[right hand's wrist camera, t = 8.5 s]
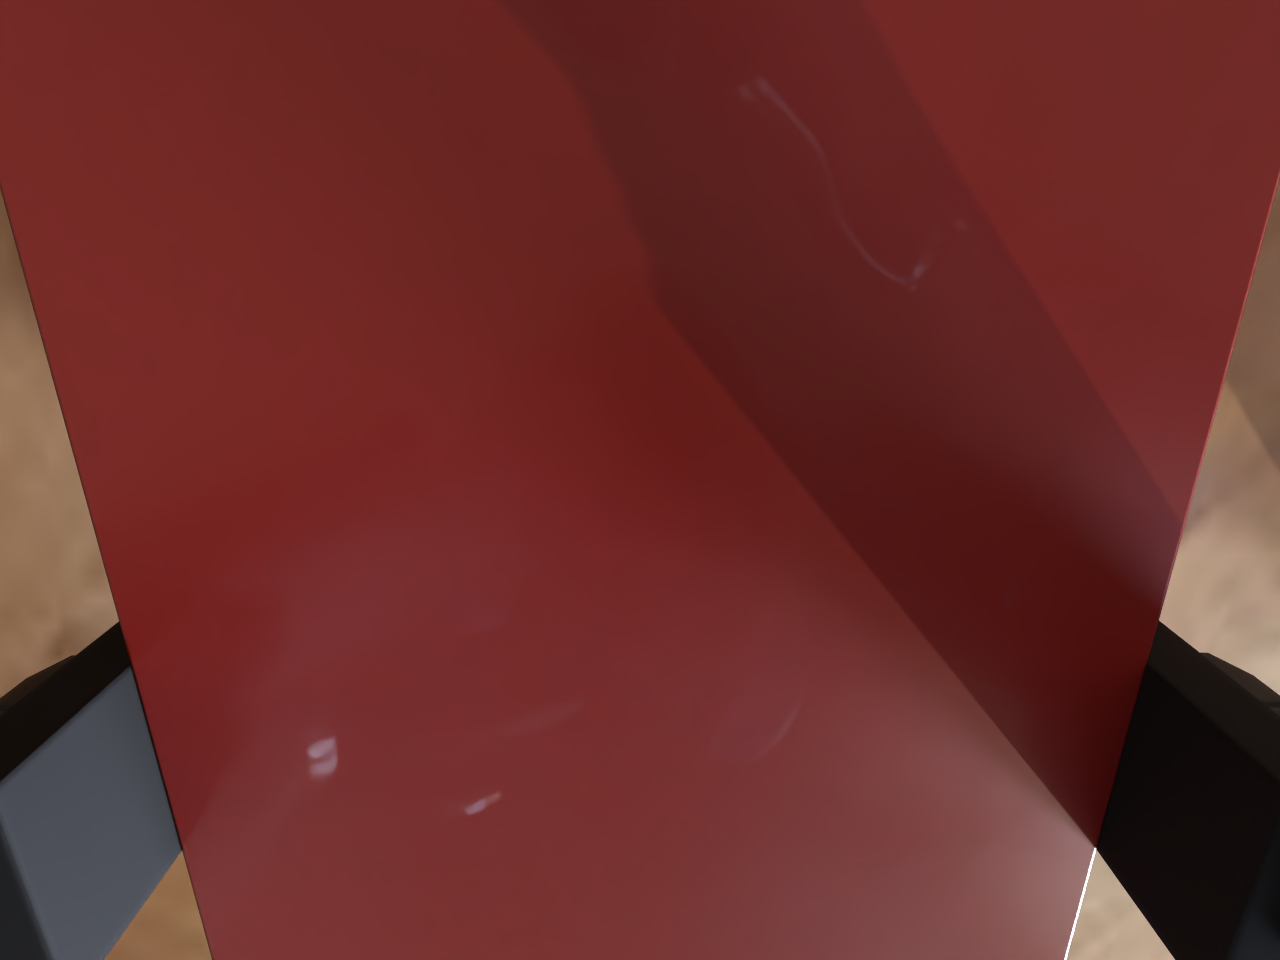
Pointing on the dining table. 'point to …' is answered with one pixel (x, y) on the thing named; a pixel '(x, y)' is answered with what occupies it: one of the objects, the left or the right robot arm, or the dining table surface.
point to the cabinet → (639, 445)
